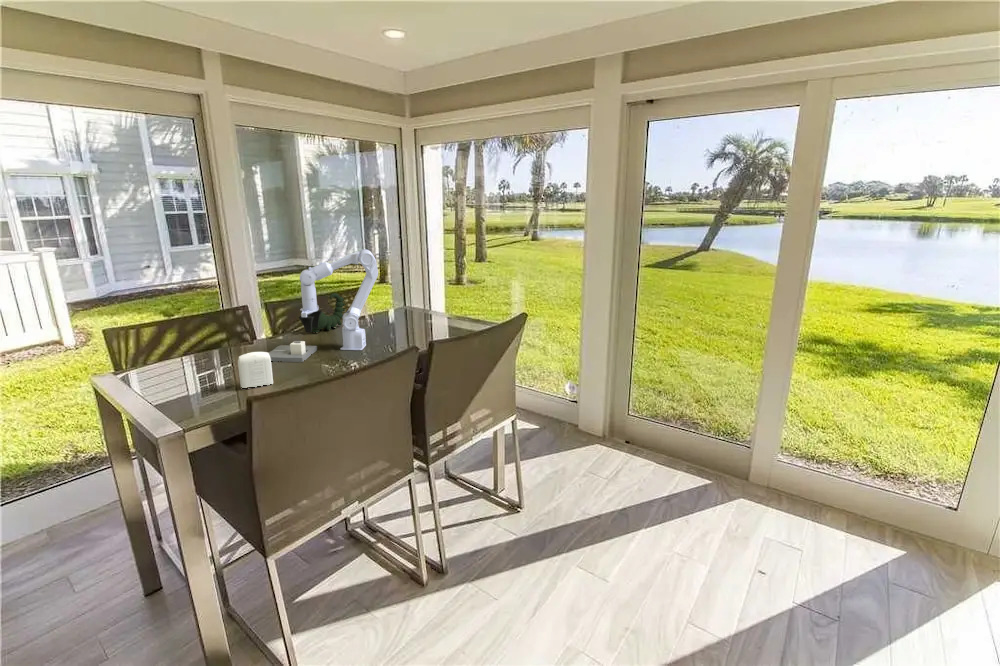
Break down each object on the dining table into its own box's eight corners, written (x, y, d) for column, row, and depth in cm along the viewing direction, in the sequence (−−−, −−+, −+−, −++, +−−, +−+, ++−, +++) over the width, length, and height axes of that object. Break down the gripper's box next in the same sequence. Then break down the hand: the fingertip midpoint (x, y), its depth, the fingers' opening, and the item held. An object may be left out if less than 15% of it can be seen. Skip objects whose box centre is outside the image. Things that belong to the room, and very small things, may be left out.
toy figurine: (335, 326, 245) (297, 334, 222) (335, 291, 241) (296, 294, 219) (349, 329, 241) (311, 336, 219) (349, 293, 237) (310, 297, 215)
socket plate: (317, 349, 202) (316, 345, 202) (302, 362, 187) (302, 357, 186) (280, 349, 202) (279, 344, 201) (262, 361, 186) (262, 356, 186)
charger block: (306, 354, 196) (304, 339, 194) (302, 358, 191) (300, 343, 190) (295, 354, 196) (294, 339, 194) (291, 358, 191) (289, 342, 189)
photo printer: (272, 381, 167) (268, 348, 164) (274, 385, 164) (270, 351, 160) (240, 386, 162) (235, 353, 158) (241, 390, 158) (236, 356, 155)
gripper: (306, 295, 202) (309, 325, 206) (292, 302, 188) (295, 334, 192) (322, 295, 202) (325, 325, 206) (310, 302, 188) (312, 334, 192)
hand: (312, 329), depth 199 cm, fingers open, 7 cm apart
